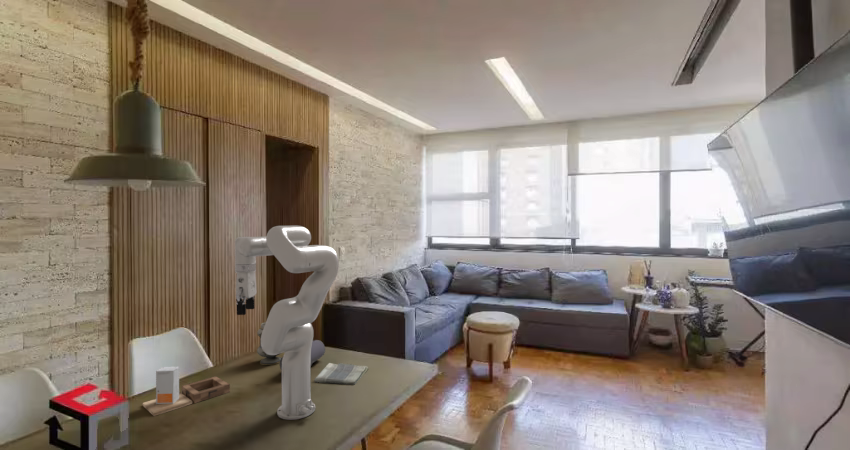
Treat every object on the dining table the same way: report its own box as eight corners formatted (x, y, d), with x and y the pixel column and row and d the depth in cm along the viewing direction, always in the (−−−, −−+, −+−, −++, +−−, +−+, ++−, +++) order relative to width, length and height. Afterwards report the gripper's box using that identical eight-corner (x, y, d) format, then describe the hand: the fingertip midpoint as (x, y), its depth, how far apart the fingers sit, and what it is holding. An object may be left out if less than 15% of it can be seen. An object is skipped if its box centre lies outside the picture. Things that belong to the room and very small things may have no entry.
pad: (192, 403, 146) (192, 400, 146) (153, 416, 137) (153, 412, 137) (179, 394, 154) (179, 391, 154) (142, 405, 145) (142, 402, 145)
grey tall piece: (279, 355, 198) (279, 318, 198) (288, 362, 189) (288, 323, 189) (253, 360, 191) (253, 322, 190) (262, 368, 181) (261, 328, 181)
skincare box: (155, 404, 143) (155, 371, 143) (162, 399, 147) (161, 366, 147) (173, 404, 144) (173, 370, 143) (179, 398, 148) (179, 366, 148)
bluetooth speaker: (309, 358, 194) (309, 337, 193) (326, 360, 191) (326, 339, 191) (278, 376, 172) (278, 352, 172) (296, 378, 169) (296, 355, 169)
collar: (229, 392, 156) (229, 384, 156) (194, 403, 146) (194, 395, 146) (215, 383, 164) (215, 376, 164) (181, 393, 155) (181, 386, 155)
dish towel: (355, 386, 162) (355, 378, 162) (313, 383, 165) (313, 375, 165) (369, 369, 181) (369, 362, 181) (331, 367, 184) (331, 360, 184)
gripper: (247, 271, 150) (248, 316, 151) (262, 265, 168) (262, 306, 168) (226, 271, 150) (227, 317, 150) (243, 265, 167) (243, 307, 167)
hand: (245, 311), depth 159 cm, fingers open, 9 cm apart
